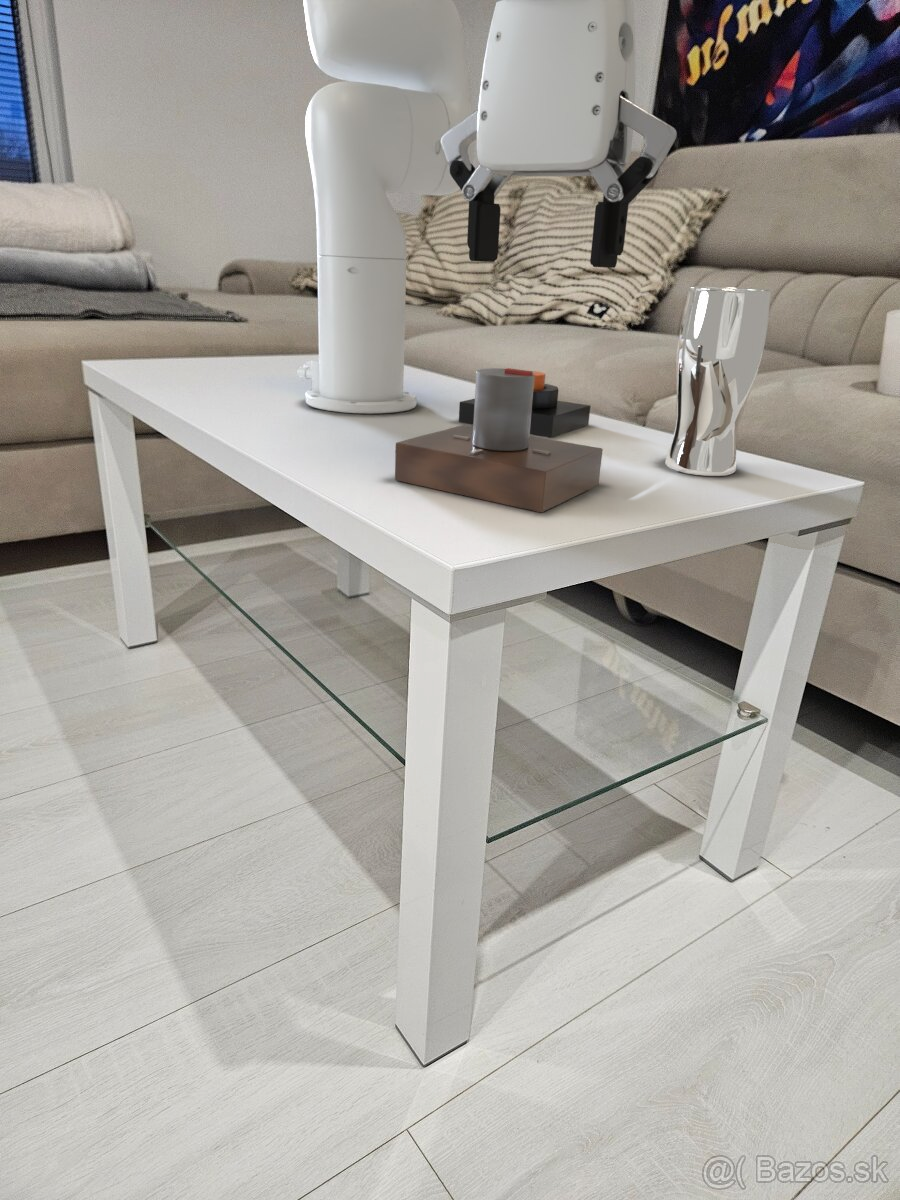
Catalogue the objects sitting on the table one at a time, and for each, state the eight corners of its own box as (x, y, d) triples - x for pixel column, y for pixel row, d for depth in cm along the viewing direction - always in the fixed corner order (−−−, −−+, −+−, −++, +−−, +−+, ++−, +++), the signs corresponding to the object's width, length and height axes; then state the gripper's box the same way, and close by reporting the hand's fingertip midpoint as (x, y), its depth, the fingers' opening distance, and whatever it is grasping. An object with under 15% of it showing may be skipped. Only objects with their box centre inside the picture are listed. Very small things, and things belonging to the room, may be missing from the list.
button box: (458, 422, 88) (460, 384, 86) (500, 411, 95) (502, 376, 93) (551, 438, 82) (555, 397, 81) (588, 425, 89) (592, 388, 88)
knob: (461, 444, 64) (465, 367, 61) (490, 436, 67) (495, 362, 65) (511, 454, 62) (517, 374, 59) (538, 444, 65) (545, 369, 63)
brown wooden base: (394, 480, 65) (395, 440, 64) (462, 458, 73) (464, 422, 71) (541, 513, 58) (546, 469, 57) (598, 485, 66) (603, 446, 65)
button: (503, 389, 86) (504, 372, 86) (519, 386, 89) (521, 369, 89) (534, 393, 85) (535, 376, 84) (549, 390, 87) (551, 373, 87)
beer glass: (655, 456, 77) (680, 284, 71) (731, 461, 76) (763, 288, 70) (665, 474, 71) (693, 287, 65) (748, 480, 70) (784, 292, 64)
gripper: (714, -23, 52) (674, 270, 58) (477, 6, 60) (466, 260, 67) (676, -62, 46) (636, 269, 52) (419, -24, 54) (413, 258, 61)
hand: (541, 264), depth 60 cm, fingers open, 9 cm apart
